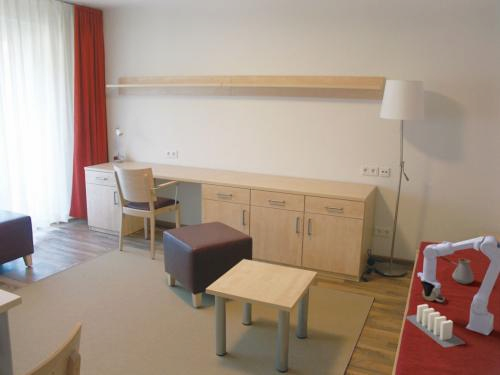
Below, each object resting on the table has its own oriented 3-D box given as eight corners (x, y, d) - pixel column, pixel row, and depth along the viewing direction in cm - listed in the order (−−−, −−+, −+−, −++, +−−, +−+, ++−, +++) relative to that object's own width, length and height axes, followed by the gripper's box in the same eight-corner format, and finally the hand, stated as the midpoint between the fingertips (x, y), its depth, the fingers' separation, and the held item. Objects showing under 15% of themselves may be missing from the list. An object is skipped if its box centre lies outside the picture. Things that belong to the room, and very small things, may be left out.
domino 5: (439, 338, 192) (440, 321, 191) (448, 336, 194) (450, 320, 192) (442, 340, 191) (443, 323, 189) (451, 338, 192) (452, 321, 191)
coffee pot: (472, 278, 254) (474, 254, 251) (475, 286, 243) (477, 261, 240) (432, 274, 260) (434, 251, 257) (434, 282, 250) (436, 258, 247)
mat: (404, 317, 212) (404, 316, 212) (423, 313, 215) (423, 313, 214) (444, 348, 185) (444, 347, 185) (465, 343, 188) (465, 343, 188)
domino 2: (421, 325, 204) (422, 309, 202) (430, 323, 205) (432, 307, 203) (424, 326, 202) (425, 311, 201) (433, 324, 203) (434, 309, 202)
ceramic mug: (421, 300, 229) (422, 286, 227) (425, 294, 236) (426, 281, 234) (442, 305, 223) (443, 291, 222) (445, 299, 230) (447, 285, 228)
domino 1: (416, 320, 207) (417, 305, 206) (425, 319, 209) (426, 304, 207) (418, 322, 206) (419, 307, 204) (427, 320, 207) (428, 305, 206)
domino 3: (427, 329, 200) (428, 313, 198) (436, 327, 201) (437, 311, 200) (429, 330, 198) (430, 315, 197) (438, 329, 200) (440, 313, 198)
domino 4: (433, 333, 196) (434, 317, 194) (442, 331, 197) (443, 315, 196) (435, 335, 195) (436, 319, 193) (445, 333, 196) (446, 317, 194)
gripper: (412, 265, 214) (411, 290, 216) (432, 276, 200) (430, 303, 203) (425, 263, 215) (423, 288, 218) (445, 274, 202) (443, 301, 205)
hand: (427, 295), depth 211 cm, fingers closed
